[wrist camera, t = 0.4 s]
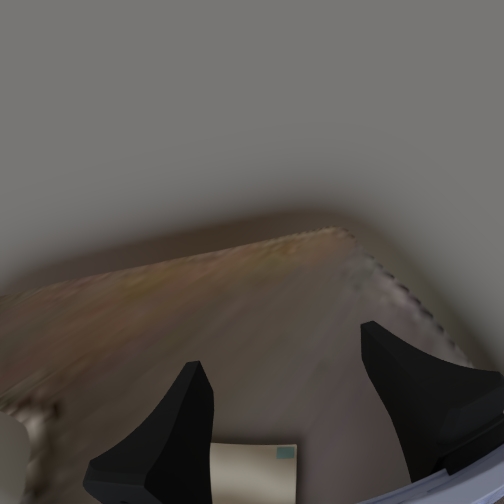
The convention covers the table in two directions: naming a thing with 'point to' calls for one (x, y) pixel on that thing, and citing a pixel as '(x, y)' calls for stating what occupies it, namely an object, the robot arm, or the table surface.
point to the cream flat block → (253, 474)
